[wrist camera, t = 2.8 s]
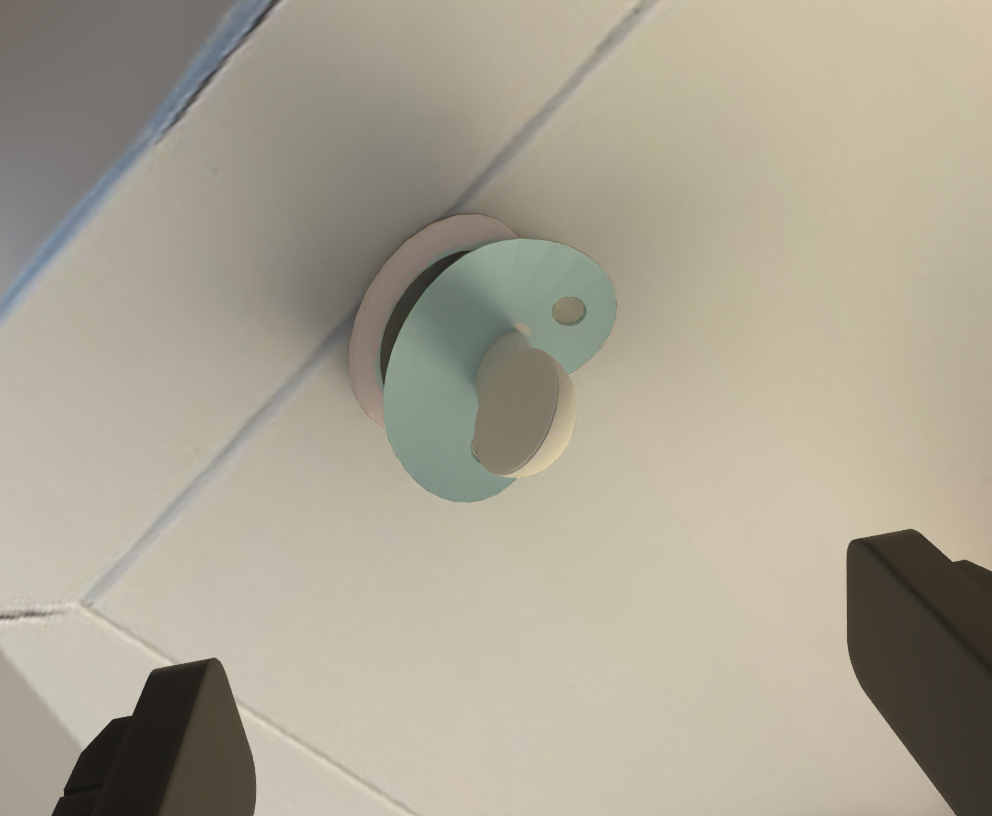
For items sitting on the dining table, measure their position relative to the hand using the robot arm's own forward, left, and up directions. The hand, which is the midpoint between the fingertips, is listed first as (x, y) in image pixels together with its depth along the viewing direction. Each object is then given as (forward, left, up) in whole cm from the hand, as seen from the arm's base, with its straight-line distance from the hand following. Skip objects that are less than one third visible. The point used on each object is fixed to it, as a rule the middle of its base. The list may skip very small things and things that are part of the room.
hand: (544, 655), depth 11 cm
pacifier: (0, 0, -14) cm, 14 cm away
